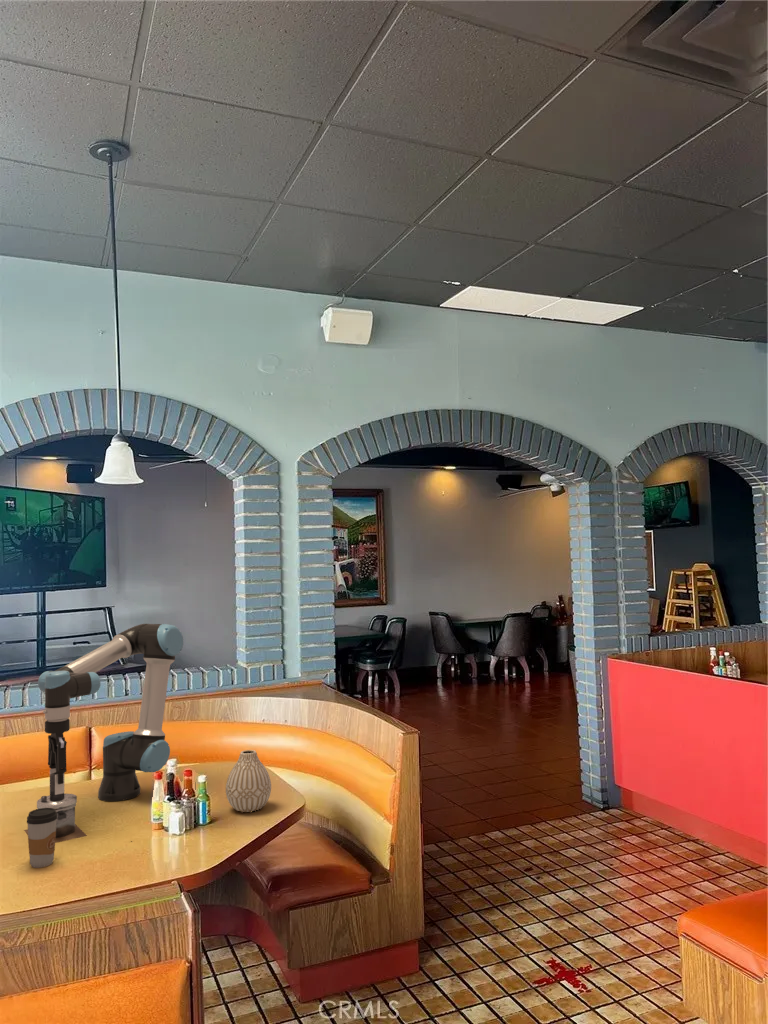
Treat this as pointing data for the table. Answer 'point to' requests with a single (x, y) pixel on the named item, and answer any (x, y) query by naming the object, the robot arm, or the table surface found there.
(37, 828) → the coffee cup
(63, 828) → the cooker pot
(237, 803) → the vase
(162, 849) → the table surface
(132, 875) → the table surface
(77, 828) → the walnut board
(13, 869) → the table surface
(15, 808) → the table surface
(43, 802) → the lid
